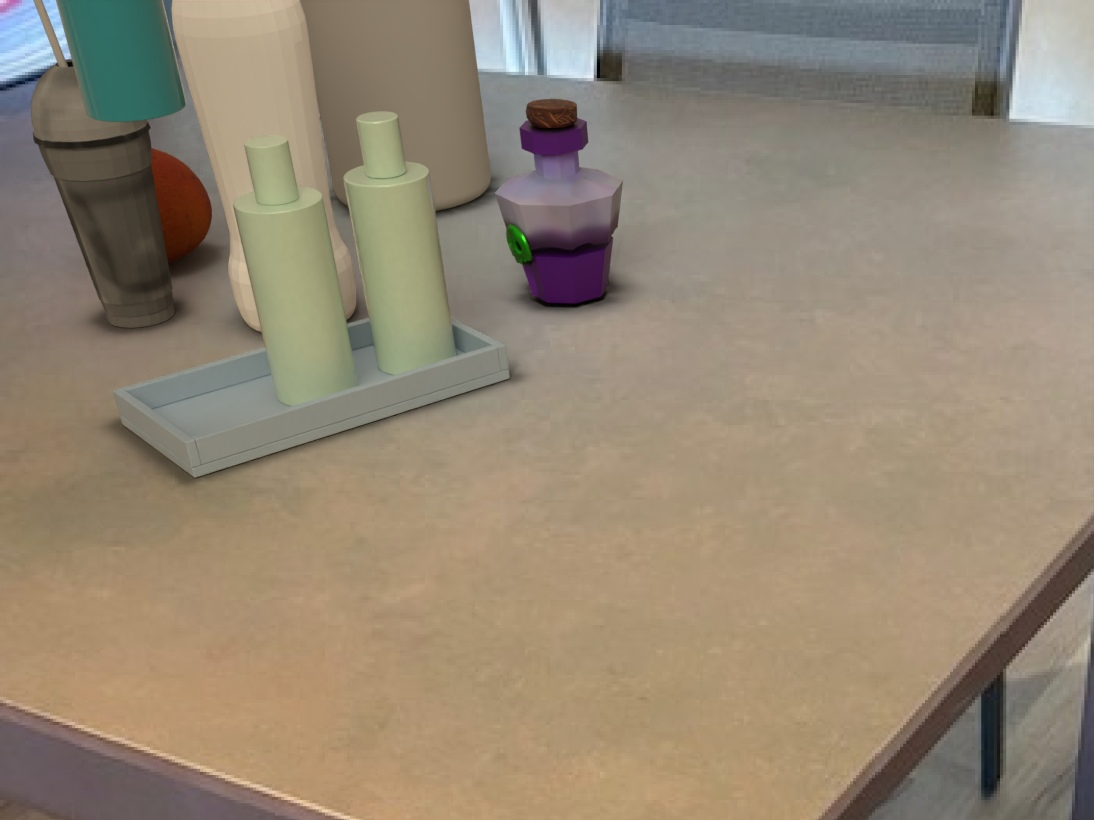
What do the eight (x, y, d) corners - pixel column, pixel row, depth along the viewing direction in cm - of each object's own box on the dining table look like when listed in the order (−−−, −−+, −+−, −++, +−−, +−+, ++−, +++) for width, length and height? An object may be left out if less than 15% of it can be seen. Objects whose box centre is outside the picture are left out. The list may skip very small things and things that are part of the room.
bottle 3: (402, 383, 101) (359, 133, 91) (362, 360, 104) (317, 116, 94) (472, 362, 103) (437, 116, 94) (430, 340, 106) (393, 100, 97)
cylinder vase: (479, 163, 137) (432, -205, 121) (504, 206, 128) (456, -185, 112) (329, 180, 135) (259, -193, 118) (343, 225, 126) (270, -172, 109)
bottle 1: (384, 305, 113) (290, -240, 93) (310, 346, 107) (192, -222, 87) (292, 289, 116) (181, -242, 96) (215, 328, 110) (80, -226, 90)
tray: (194, 478, 93) (185, 442, 91) (121, 424, 99) (111, 389, 97) (510, 378, 102) (506, 344, 101) (426, 335, 108) (421, 302, 107)
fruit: (191, 283, 117) (161, 161, 112) (78, 278, 119) (43, 158, 113) (243, 243, 124) (217, 126, 118) (136, 239, 125) (105, 123, 120)
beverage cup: (195, 328, 111) (110, -16, 97) (84, 340, 109) (-19, -5, 96) (196, 292, 116) (114, -38, 102) (89, 303, 115) (-8, -29, 101)
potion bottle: (482, 303, 113) (455, 109, 104) (557, 264, 118) (537, 78, 110) (583, 324, 109) (564, 125, 101) (656, 283, 114) (643, 92, 106)
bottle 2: (299, 414, 98) (244, 159, 88) (261, 390, 100) (204, 141, 91) (373, 392, 100) (327, 140, 90) (334, 369, 103) (285, 123, 93)
